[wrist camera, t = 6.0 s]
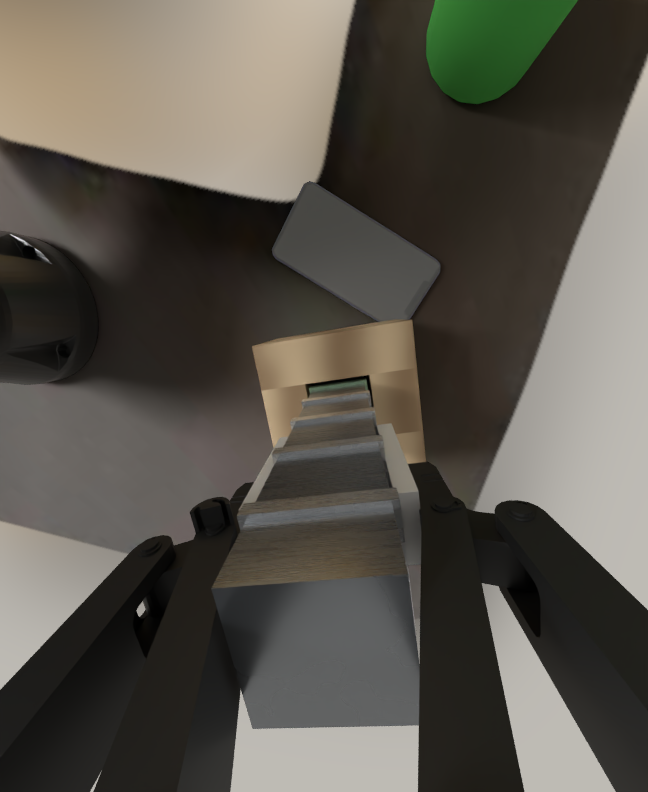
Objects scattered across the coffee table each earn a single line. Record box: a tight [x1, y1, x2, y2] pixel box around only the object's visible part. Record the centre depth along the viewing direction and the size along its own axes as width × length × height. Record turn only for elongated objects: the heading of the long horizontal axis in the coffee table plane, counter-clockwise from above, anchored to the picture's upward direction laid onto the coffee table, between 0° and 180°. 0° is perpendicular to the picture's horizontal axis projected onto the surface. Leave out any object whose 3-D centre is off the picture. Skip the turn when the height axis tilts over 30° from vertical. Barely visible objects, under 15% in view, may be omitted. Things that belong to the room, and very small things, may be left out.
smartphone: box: [272, 181, 440, 322], centre depth 30 cm, size 8×1×15 cm
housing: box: [252, 319, 426, 464], centre depth 28 cm, size 12×12×11 cm
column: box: [211, 376, 420, 729], centre depth 17 cm, size 4×4×22 cm
